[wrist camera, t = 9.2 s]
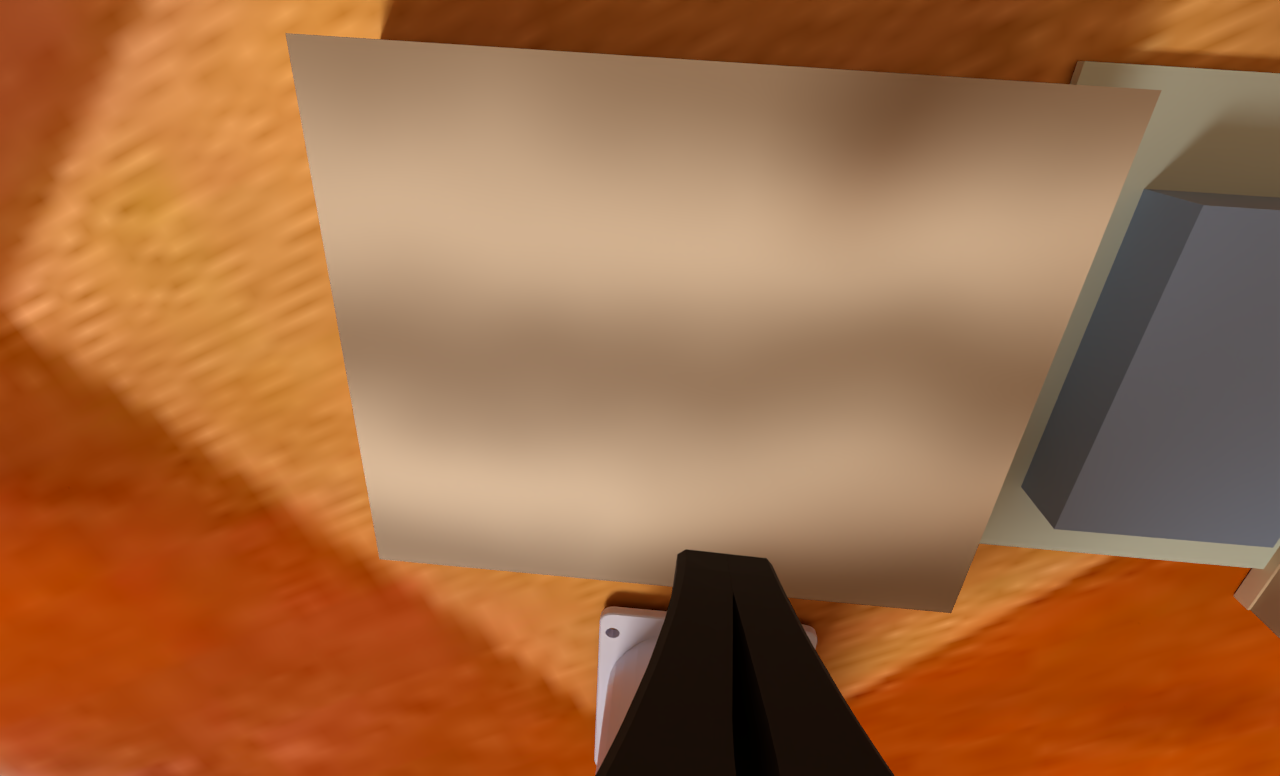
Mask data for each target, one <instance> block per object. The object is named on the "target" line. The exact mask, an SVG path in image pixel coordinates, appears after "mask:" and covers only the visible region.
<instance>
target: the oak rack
mask: <svg viewBox="0 0 1280 776" xmlns="http://www.w3.org/2000/svg"><path fill="white" fill-rule="evenodd" d="M1234 597H1235V598H1236V599H1237V600H1238V601H1239V602H1240V603H1241V604H1242V605H1243V606H1244V607H1245V608H1246V609H1247V610H1251V611H1252V612H1253V613H1254V614H1255V615H1256V616H1257V617H1258V618H1259V619H1260V620H1261V621H1262V622H1263V623H1264V624H1266V625H1267V626H1268V627H1269V628H1270V629H1271V630H1272V631H1273V632H1274V633H1275V634H1276V635H1277V636H1278V637H1279V638H1280V546H1279V548H1278V549H1277V550H1276V552H1275V553H1274V555H1273V556H1272V558H1271V559H1270V561H1269V562H1268V563H1267V565H1266V566H1265V568H1264V569H1256V568H1252V569H1251V571H1250V572H1249V574H1248V575H1247V577H1246V578H1245V580H1244V581H1243V583H1242V584H1241V585H1240V587H1239V588H1238V590H1237V591H1236V593H1235V594H1234Z"/></svg>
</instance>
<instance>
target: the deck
mask: <svg viewBox="0 0 1280 776" xmlns="http://www.w3.org/2000/svg"><path fill="white" fill-rule="evenodd" d="M286 39H287V44H288V50H289V55H290V61H291V67H292V72H293V78H294V83H295V89H296V94H297V100H298V106H299V111H300V117H301V122H302V128H303V134H304V139H305V145H306V150H307V156H308V161H309V167H310V173H311V178H312V184H313V189H314V195H315V201H316V206H317V212H318V217H319V223H320V228H321V234H322V240H323V245H324V251H325V256H326V262H327V268H328V273H329V279H330V284H331V290H332V295H333V301H334V307H335V312H336V318H337V323H338V329H339V335H340V340H341V346H342V351H343V357H344V362H345V368H346V374H347V379H348V385H349V390H350V396H351V402H352V407H353V413H354V418H355V424H356V429H357V435H358V441H359V446H360V452H361V457H362V463H363V469H364V474H365V480H366V485H367V491H368V496H369V502H370V508H371V513H372V519H373V524H374V530H375V536H376V541H377V547H378V552H379V558H380V559H384V560H395V561H406V562H416V563H427V564H437V565H448V566H459V567H469V568H480V569H490V570H501V571H512V572H522V573H533V574H543V575H554V576H565V577H575V578H586V579H596V580H607V581H618V582H628V583H639V584H649V585H660V586H671V587H673V581H674V574H675V567H676V560H677V554H679V553H680V552H682V551H684V550H685V549H688V550H697V551H706V552H715V553H724V554H733V555H742V556H751V557H760V558H767V559H768V560H769V562H770V563H771V564H772V565H773V568H774V570H775V572H776V574H777V576H778V579H779V581H780V583H781V585H782V587H783V589H784V591H785V593H786V595H787V597H788V598H798V599H808V600H819V601H829V602H840V603H851V604H861V605H872V606H882V607H893V608H904V609H914V610H925V611H935V612H946V613H951V612H952V610H953V607H954V605H955V602H956V600H957V597H958V595H959V592H960V590H961V587H962V585H963V583H964V580H965V578H966V575H967V573H968V570H969V568H970V565H971V563H972V560H973V558H974V555H975V553H976V550H977V548H978V545H979V543H980V540H981V538H982V535H983V533H984V530H985V528H986V525H987V523H988V520H989V518H990V515H991V513H992V510H993V508H994V506H995V503H996V501H997V498H998V496H999V493H1000V491H1001V488H1002V486H1003V483H1004V481H1005V478H1006V476H1007V473H1008V471H1009V468H1010V466H1011V463H1012V461H1013V458H1014V456H1015V453H1016V451H1017V448H1018V446H1019V443H1020V441H1021V438H1022V436H1023V433H1024V431H1025V429H1026V426H1027V424H1028V421H1029V419H1030V416H1031V414H1032V411H1033V409H1034V406H1035V404H1036V401H1037V399H1038V396H1039V394H1040V391H1041V389H1042V386H1043V384H1044V381H1045V379H1046V376H1047V374H1048V371H1049V369H1050V366H1051V364H1052V361H1053V359H1054V356H1055V354H1056V351H1057V349H1058V347H1059V344H1060V342H1061V339H1062V337H1063V334H1064V332H1065V329H1066V327H1067V324H1068V322H1069V319H1070V317H1071V314H1072V312H1073V309H1074V307H1075V304H1076V302H1077V299H1078V297H1079V294H1080V292H1081V289H1082V287H1083V284H1084V282H1085V279H1086V277H1087V274H1088V272H1089V270H1090V267H1091V265H1092V262H1093V260H1094V257H1095V255H1096V252H1097V250H1098V247H1099V245H1100V242H1101V240H1102V237H1103V235H1104V232H1105V230H1106V227H1107V225H1108V222H1109V220H1110V217H1111V215H1112V212H1113V210H1114V207H1115V205H1116V202H1117V200H1118V197H1119V195H1120V193H1121V190H1122V188H1123V185H1124V183H1125V180H1126V178H1127V175H1128V173H1129V170H1130V168H1131V165H1132V163H1133V160H1134V158H1135V155H1136V153H1137V150H1138V148H1139V145H1140V143H1141V140H1142V138H1143V135H1144V133H1145V130H1146V128H1147V125H1148V123H1149V120H1150V118H1151V116H1152V113H1153V111H1154V108H1155V106H1156V103H1157V101H1158V98H1159V96H1160V93H1161V91H1162V90H1150V89H1135V88H1119V87H1104V86H1089V85H1073V84H1058V83H1042V82H1027V81H1012V80H996V79H981V78H965V77H950V76H935V75H919V74H904V73H889V72H873V71H858V70H842V69H827V68H812V67H796V66H781V65H765V64H750V63H735V62H719V61H704V60H689V59H673V58H658V57H642V56H627V55H612V54H596V53H581V52H565V51H550V50H535V49H519V48H504V47H489V46H473V45H458V44H442V43H427V42H412V41H396V40H381V39H366V38H350V37H335V36H319V35H304V34H289V33H286Z"/></svg>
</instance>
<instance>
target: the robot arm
mask: <svg viewBox="0 0 1280 776" xmlns="http://www.w3.org/2000/svg"><path fill="white" fill-rule="evenodd" d="M610 628H615V629H610ZM816 645H817V635H816V631H815V630H814V628H812V627H811V626H808V625H804V624H801V622H800V621H799V619H798V617H797V615H796V613H795V611H794V609H793V607H792V605H791V603H790V601H789V599H788V597H787V595H786V593H785V591H784V589H783V587H782V585H781V583H780V581H779V579H778V576H777V574H776V572H775V570H774V568H773V565H772V564H771V563H770V562H769V560H768V559H767V558H760V557H751V556H742V555H733V554H724V553H715V552H706V551H697V550H688V549H685V550H684V551H682V552H680V553H679V554H677V560H676V567H675V574H674V581H673V588H672V595H671V600H670V603H669V606H668V610H667V611H658V610H648V609H637V608H627V607H616V606H611V607H607V608H605V609H604V610H603V611H602V613H601V617H600V630H599V656H598V681H597V707H596V732H595V758H594V761H595V764H596V765H597V768H596V775H595V776H894V774H893V773H892V771H891V770H890V769H889V767H888V766H887V764H886V763H885V761H884V760H883V758H882V757H881V755H880V754H879V752H878V751H877V749H876V748H875V746H874V745H873V743H872V742H871V740H870V739H869V737H868V735H867V734H866V732H865V731H864V729H863V728H862V726H861V725H860V723H859V722H858V720H857V719H856V717H855V715H854V714H853V712H852V711H851V709H850V707H849V706H848V704H847V703H846V701H845V699H844V698H843V696H842V694H841V693H840V691H839V689H838V688H837V686H836V684H835V683H834V681H833V679H832V677H831V676H830V674H829V672H828V671H827V669H826V667H825V666H824V664H823V662H822V660H821V659H820V657H819V655H818V654H817V652H816V650H815V649H816Z"/></svg>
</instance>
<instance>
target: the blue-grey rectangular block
mask: <svg viewBox="0 0 1280 776" xmlns="http://www.w3.org/2000/svg"><path fill="white" fill-rule="evenodd" d="M1021 488H1022V489H1023V490H1024V491H1025V493H1026V494H1027V495H1028V497H1029V498H1030V499H1031V500H1032V502H1033V503H1034V504H1035V505H1036V507H1037V508H1038V509H1039V511H1040V512H1041V513H1042V514H1043V516H1044V517H1045V518H1046V519H1047V521H1048V522H1049V523H1050V525H1051V526H1052V527H1053V528H1054V529H1058V530H1070V531H1081V532H1093V533H1105V534H1117V535H1128V536H1140V537H1152V538H1164V539H1176V540H1187V541H1199V542H1211V543H1223V544H1234V545H1246V546H1258V547H1270V548H1273V547H1274V546H1275V544H1276V543H1277V541H1278V540H1279V538H1280V198H1278V197H1263V196H1247V195H1232V194H1217V193H1201V192H1186V191H1170V190H1155V189H1144V190H1143V192H1142V195H1141V197H1140V200H1139V202H1138V204H1137V207H1136V209H1135V212H1134V214H1133V217H1132V219H1131V221H1130V224H1129V226H1128V229H1127V231H1126V234H1125V236H1124V238H1123V241H1122V243H1121V246H1120V248H1119V250H1118V253H1117V255H1116V258H1115V260H1114V263H1113V265H1112V267H1111V270H1110V272H1109V275H1108V277H1107V280H1106V282H1105V284H1104V287H1103V289H1102V292H1101V294H1100V296H1099V299H1098V301H1097V304H1096V306H1095V309H1094V311H1093V313H1092V316H1091V318H1090V321H1089V323H1088V326H1087V328H1086V330H1085V333H1084V335H1083V338H1082V340H1081V343H1080V345H1079V347H1078V350H1077V352H1076V355H1075V357H1074V359H1073V362H1072V364H1071V367H1070V369H1069V372H1068V374H1067V376H1066V379H1065V381H1064V384H1063V386H1062V389H1061V391H1060V393H1059V396H1058V398H1057V401H1056V403H1055V406H1054V408H1053V410H1052V413H1051V415H1050V418H1049V420H1048V422H1047V425H1046V427H1045V430H1044V432H1043V435H1042V437H1041V439H1040V442H1039V444H1038V447H1037V449H1036V452H1035V454H1034V456H1033V459H1032V461H1031V464H1030V466H1029V468H1028V471H1027V473H1026V476H1025V478H1024V481H1023V483H1022V485H1021Z"/></svg>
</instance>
